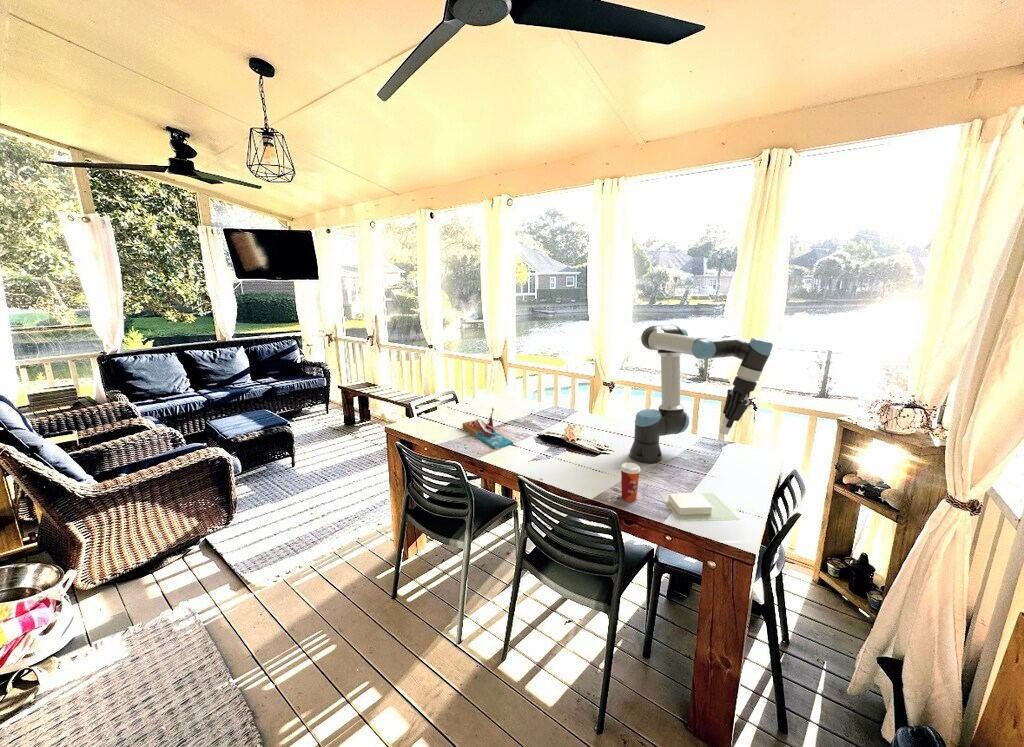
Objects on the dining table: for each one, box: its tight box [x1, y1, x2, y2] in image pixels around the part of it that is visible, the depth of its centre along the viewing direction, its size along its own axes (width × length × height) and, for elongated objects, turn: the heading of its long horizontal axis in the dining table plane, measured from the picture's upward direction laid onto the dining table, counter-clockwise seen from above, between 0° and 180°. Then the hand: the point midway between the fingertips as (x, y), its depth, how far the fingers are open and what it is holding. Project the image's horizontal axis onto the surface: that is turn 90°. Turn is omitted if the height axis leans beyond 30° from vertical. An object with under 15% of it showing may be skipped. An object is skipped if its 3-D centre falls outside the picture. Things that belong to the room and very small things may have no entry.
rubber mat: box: [659, 492, 740, 522], centre depth 153 cm, size 19×22×1 cm
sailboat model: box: [462, 407, 514, 450], centre depth 227 cm, size 12×37×17 cm, turn 34°
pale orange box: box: [668, 492, 712, 515], centre depth 152 cm, size 10×3×12 cm
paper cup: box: [620, 462, 642, 503], centre depth 159 cm, size 8×8×14 cm
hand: (723, 433), depth 158 cm, fingers closed
